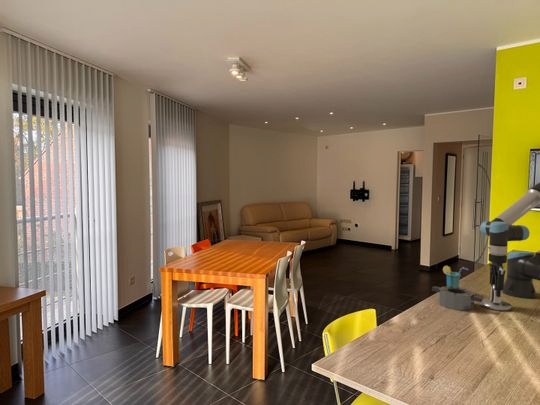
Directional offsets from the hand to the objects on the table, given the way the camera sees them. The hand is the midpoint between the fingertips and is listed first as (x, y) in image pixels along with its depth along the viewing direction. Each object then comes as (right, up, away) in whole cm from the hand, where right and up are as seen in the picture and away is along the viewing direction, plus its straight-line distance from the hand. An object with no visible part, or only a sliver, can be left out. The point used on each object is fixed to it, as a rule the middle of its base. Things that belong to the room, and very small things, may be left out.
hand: (495, 301), depth 178 cm
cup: (-10, -1, +21) cm, 23 cm away
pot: (-18, -2, +2) cm, 19 cm away
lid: (0, -2, 0) cm, 2 cm away
